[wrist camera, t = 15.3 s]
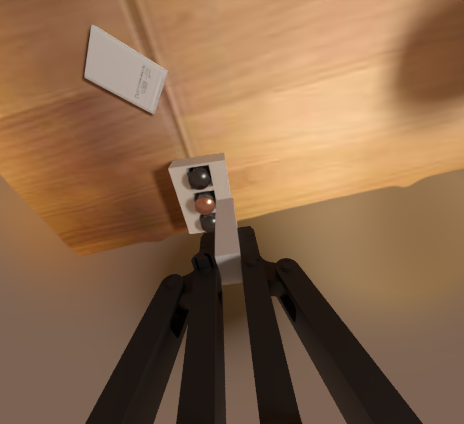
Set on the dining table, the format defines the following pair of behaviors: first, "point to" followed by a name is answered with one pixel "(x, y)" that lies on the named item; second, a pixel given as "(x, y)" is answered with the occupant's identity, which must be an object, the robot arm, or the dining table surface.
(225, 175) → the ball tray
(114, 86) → the external hard drive
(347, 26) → the dining table surface
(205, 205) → the plunger
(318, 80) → the dining table surface
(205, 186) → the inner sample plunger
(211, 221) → the plunger
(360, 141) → the dining table surface
